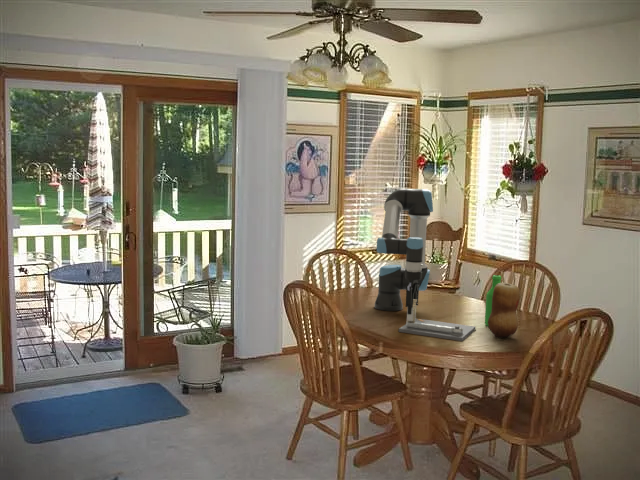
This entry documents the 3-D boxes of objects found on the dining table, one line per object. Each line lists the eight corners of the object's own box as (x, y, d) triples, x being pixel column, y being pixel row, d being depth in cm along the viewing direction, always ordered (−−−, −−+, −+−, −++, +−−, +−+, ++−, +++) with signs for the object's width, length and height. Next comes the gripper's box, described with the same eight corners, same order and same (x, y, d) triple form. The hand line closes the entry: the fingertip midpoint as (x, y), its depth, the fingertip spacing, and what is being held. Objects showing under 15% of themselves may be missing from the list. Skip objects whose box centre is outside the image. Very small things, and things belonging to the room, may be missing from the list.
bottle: (492, 328, 330) (496, 277, 327) (480, 324, 337) (483, 274, 334) (506, 327, 334) (510, 276, 331) (494, 323, 341) (497, 273, 338)
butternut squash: (515, 342, 305) (519, 287, 302) (485, 338, 310) (488, 284, 307) (518, 335, 318) (521, 282, 315) (488, 331, 323) (492, 279, 320)
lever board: (398, 331, 318) (398, 327, 317) (415, 321, 340) (415, 317, 339) (462, 341, 305) (462, 337, 304) (475, 329, 326) (475, 325, 326)
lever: (463, 332, 312) (465, 304, 311) (460, 334, 308) (462, 306, 306) (408, 324, 324) (409, 298, 322) (404, 326, 319) (405, 299, 318)
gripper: (415, 273, 308) (413, 324, 311) (426, 269, 323) (424, 317, 326) (399, 272, 312) (397, 322, 314) (411, 267, 327) (409, 315, 329)
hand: (411, 319), depth 320 cm, fingers closed on lever, 4 cm apart
